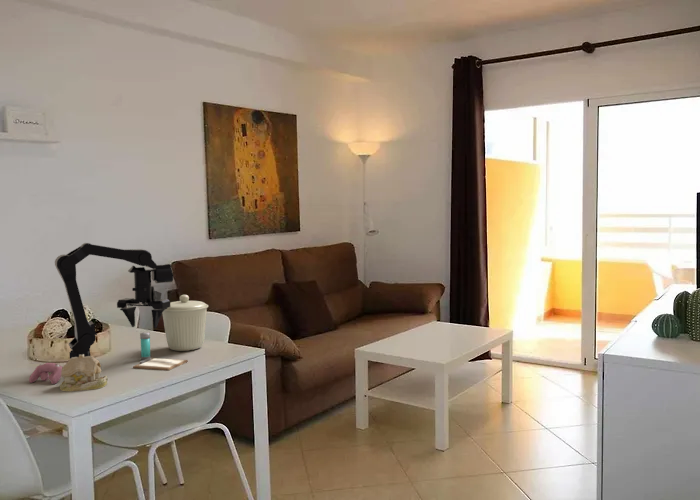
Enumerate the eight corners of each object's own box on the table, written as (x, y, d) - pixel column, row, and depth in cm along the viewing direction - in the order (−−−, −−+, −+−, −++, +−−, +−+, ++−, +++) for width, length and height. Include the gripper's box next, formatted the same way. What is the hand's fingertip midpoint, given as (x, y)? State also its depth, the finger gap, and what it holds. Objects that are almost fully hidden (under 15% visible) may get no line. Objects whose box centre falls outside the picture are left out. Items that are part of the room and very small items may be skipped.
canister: (198, 341, 251) (196, 290, 249) (217, 348, 236) (215, 294, 235) (154, 347, 240) (152, 294, 238) (172, 356, 225) (170, 299, 224)
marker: (147, 360, 219) (146, 334, 219) (139, 360, 220) (138, 333, 219) (152, 358, 222) (151, 332, 222) (144, 358, 223) (143, 332, 223)
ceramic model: (52, 392, 182) (51, 359, 182) (66, 382, 193) (64, 351, 193) (101, 390, 184) (100, 357, 183) (112, 380, 195) (110, 349, 194)
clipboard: (168, 370, 205) (168, 366, 205) (132, 368, 209) (132, 364, 209) (187, 361, 217) (187, 357, 217) (153, 359, 220) (153, 355, 220)
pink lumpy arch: (62, 386, 194) (68, 364, 196) (52, 383, 189) (59, 361, 192) (36, 384, 196) (43, 363, 199) (26, 382, 192) (33, 360, 195)
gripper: (178, 282, 225) (179, 324, 226) (134, 281, 230) (135, 322, 231) (160, 285, 214) (162, 329, 215) (115, 284, 219) (116, 327, 220)
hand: (144, 327), depth 221 cm, fingers open, 9 cm apart
